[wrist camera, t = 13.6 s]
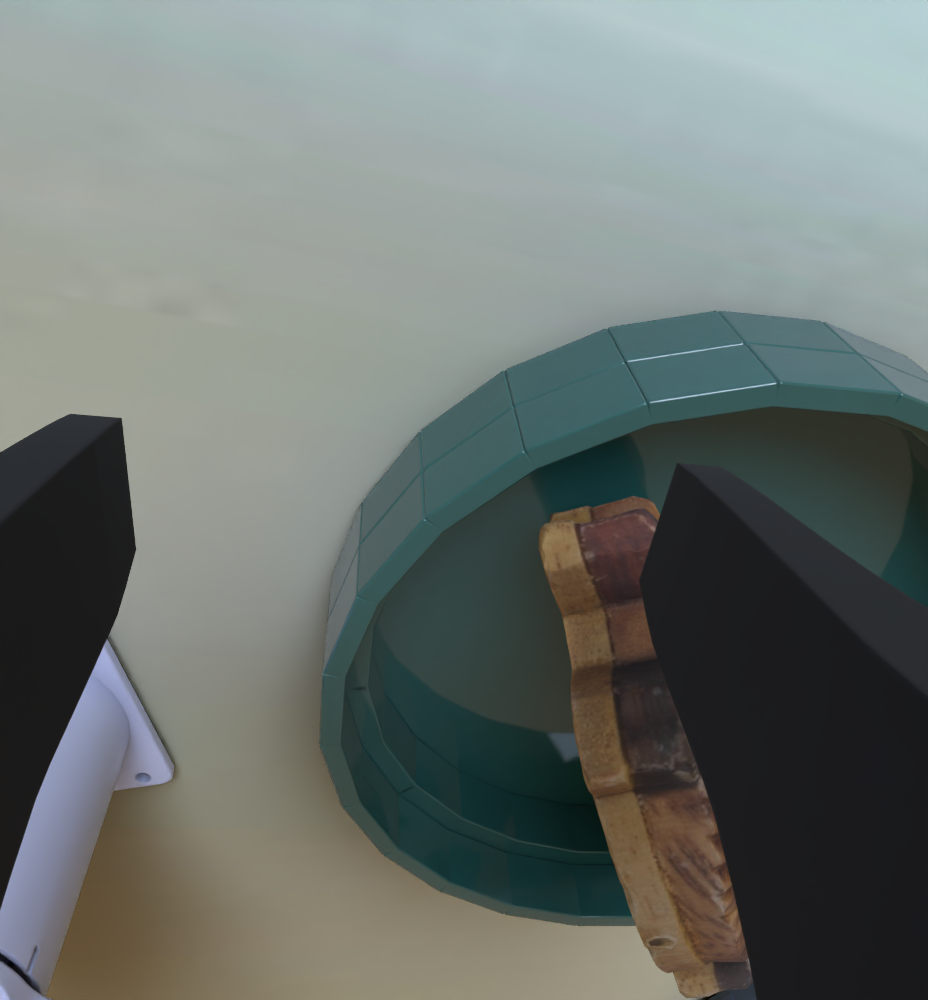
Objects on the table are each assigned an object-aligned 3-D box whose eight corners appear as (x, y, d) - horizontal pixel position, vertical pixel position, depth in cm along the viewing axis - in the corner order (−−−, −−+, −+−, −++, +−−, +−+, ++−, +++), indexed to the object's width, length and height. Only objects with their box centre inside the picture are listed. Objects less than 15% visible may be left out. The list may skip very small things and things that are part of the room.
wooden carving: (764, 745, 30) (904, 1052, 22) (644, 785, 31) (735, 1095, 23) (618, 376, 21) (762, 656, 13) (457, 446, 22) (495, 751, 14)
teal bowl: (396, 846, 33) (397, 962, 29) (249, 373, 21) (218, 467, 17) (921, 771, 32) (989, 879, 29) (1071, 246, 21) (1220, 314, 17)
